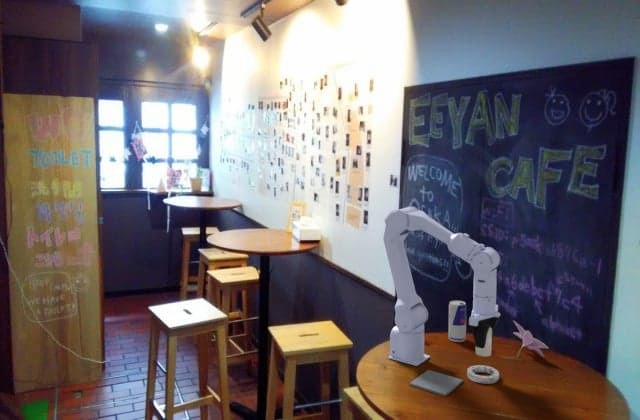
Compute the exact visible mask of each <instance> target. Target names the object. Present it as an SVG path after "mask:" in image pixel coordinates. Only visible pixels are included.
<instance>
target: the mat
mask: <svg viewBox="0 0 640 420" xmlns="http://www.w3.org/2000/svg"><path fill="white" fill-rule="evenodd" d="M463 381H464V380H463V379H462V378H458V377H454V376H451V375H448V374H444V373H441V372H437V371H433V370H430V369H428V370H426V371H424V372H423V373H422V374H420V375H419V376H417V377H416V378H415V379H413V380H412V381H411V382H410V383H409V386H411V387H414V388H417V389H421V390H423V391H427V392H431V393H433V394H436V395H440V396H443V397H447V396H448V395H449V394H450V393H452V392H453V391H455V389H456V388H457V387H458V386H460V385H461V384H462V383H463Z"/></svg>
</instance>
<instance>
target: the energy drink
mask: <svg viewBox="0 0 640 420" xmlns="http://www.w3.org/2000/svg"><path fill="white" fill-rule="evenodd" d="M447 337H448V339H449V341H451V342H454V343H463V342H465V341H466V340H467V303H466V302H465V301H463V300H458V299H457V300H451V301H449V304H448V336H447Z"/></svg>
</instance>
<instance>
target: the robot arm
mask: <svg viewBox="0 0 640 420" xmlns="http://www.w3.org/2000/svg"><path fill="white" fill-rule="evenodd" d="M384 223H385V227H384V228H385V229H384V234H383V244H384V248H385V252H386V256H387V259H388V264H389V268H390V273H391V275H392V276H391V277H392V280H393V285H394V289H395V292H396V297H397V301H396V303H395V305H394V310H395V311H394V313H395V316H394V323H395V326H394V327H393V328H392V329H391V331H390V334H389V356H388V359H390V360H394V361H397V362H401V363H405V364H409V365H412V366H414V367H418V366H420V365H421V364H422V363H424V362H425V361H426V360H428V359H429V358H430V357H431V356H430V355H428V354H426V353H425V323H426V322H427V321H428V319H429V312H428V309H427V307H426V306H425V305H424V302H423V299H422V298H421V296H419V295H418V294H417V291H416V288H415V287H416V286H415V284H414V279H413V276H412V271H411V267H410V263H409V260H408V256H407V251H406V247H405V242H404V241H405V240H406V238H407V237H408V235H409V234H410V233H411V231H422V232H425V233H426V234H428V235H430V236H432V237H434V238H436V239H437V240H439V241H441V242H443V243H444V244H446V245H447V248H448V249H447V250H448V251H449V252H451V253H452V254H453V255H455V256H457V257H459V258H460V259H462V260H463V261H465V262H466V263H468V264H469V265H470V267H471V269H472V270H473V291H472V294H473V295H472V297H473V300H472V310H471V314H470V315H471V316H470V317H469V319H468V320H467V325H468V326H469V329H470V330H471V333H472V337H473V341H474V344H475V348H476V347H479V348H484V347H485V344H486V337H487V333H488V330H489V328H490V327H491V328H492V339H493V337H494V333H495V329H496V328H497V325H498V323H499V321H500V320H501V313H500V312H499V304H497V279H498V278H497V274H498V273H497V272H498V271H497V269H498V266H499V265H500V262H501V257H500V254H499V253H498V252H497V250H495V249H494V248H493V247H490V246H487V247H485V244H483V243H478V242H477V241H476V240H474V239H471V238H470V235H469V234H467V233H466V232H465V233H462V232H458V233H457V232H456V233H454V232H452V231H450V230H449V229H448V228H446V227H445V226H444V225H442V224H441V223H439V222H438V221H437V220H435V219H433V218H432V217H431V216H429V215H428V214H426V212H424V211H422V210H421V209H420V210H419V209H418V208H417V207H415V206H413V205H411V206H406V207H403V208H400V209H393V210H391V211H390V212H389V214H387V216H386V217H385V218H384Z"/></svg>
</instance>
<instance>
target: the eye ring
mask: <svg viewBox="0 0 640 420" xmlns="http://www.w3.org/2000/svg"><path fill="white" fill-rule="evenodd" d="M466 369H467V371H466V372H467V373H466V375H467V378H468V379H469V380H471V381H472V382H474V383H478V384H483V385H484V384H488V385H490V384H495V383H497V382H498V381H499V380H500V373H499V371H498V370H497V369H496V368H494V367H492V366H489V365H483V364H482V365H481V364H480V365H479V364H476V365H471V366H469V367H468V368H466ZM476 373H485V374H489V375H480V374H476Z"/></svg>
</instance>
